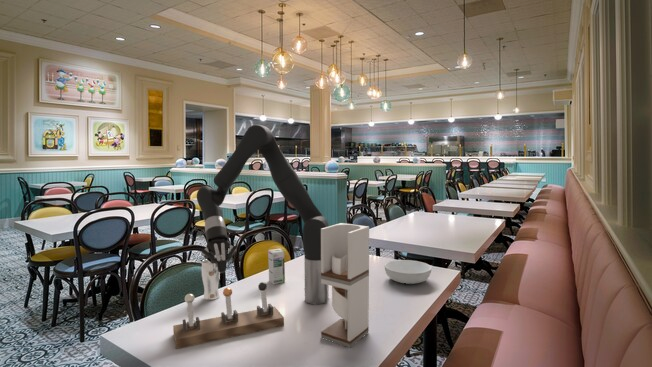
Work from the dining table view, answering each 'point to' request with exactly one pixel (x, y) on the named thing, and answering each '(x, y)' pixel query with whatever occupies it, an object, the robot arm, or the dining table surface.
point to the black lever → (263, 297)
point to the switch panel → (226, 326)
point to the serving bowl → (408, 271)
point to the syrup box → (276, 266)
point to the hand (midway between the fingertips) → (222, 271)
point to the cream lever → (190, 311)
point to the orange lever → (228, 304)
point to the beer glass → (210, 280)
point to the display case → (346, 280)
